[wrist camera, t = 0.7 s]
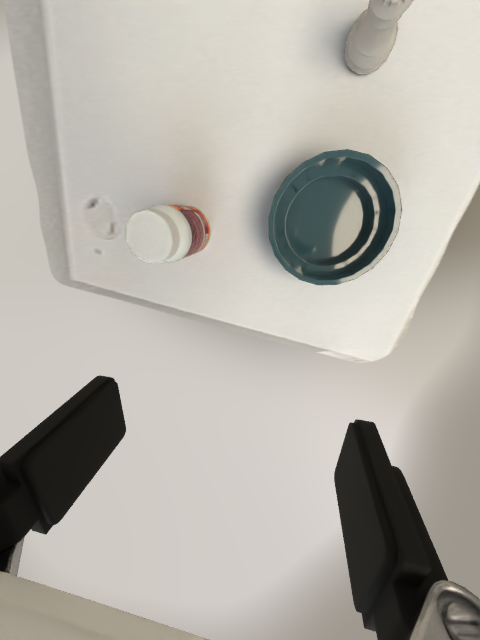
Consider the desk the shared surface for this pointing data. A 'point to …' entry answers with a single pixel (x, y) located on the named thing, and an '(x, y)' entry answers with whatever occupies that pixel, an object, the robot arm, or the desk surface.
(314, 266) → the bowl
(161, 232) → the pill bottle
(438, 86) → the desk surface
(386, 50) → the rook chess piece
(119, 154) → the desk surface
